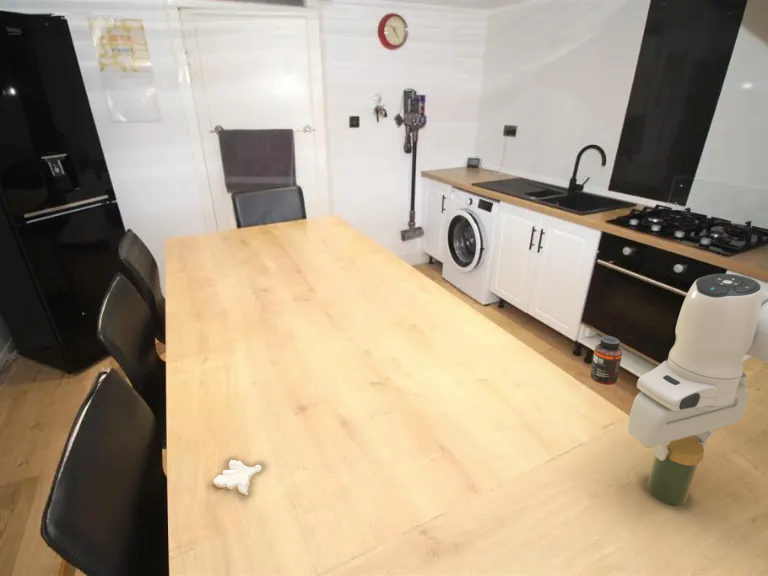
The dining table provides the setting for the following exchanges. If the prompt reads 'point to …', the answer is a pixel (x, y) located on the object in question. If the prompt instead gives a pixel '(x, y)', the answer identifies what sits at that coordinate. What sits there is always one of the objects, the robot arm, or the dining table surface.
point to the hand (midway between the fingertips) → (678, 452)
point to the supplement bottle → (606, 361)
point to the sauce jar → (670, 481)
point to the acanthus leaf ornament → (236, 476)
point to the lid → (686, 451)
